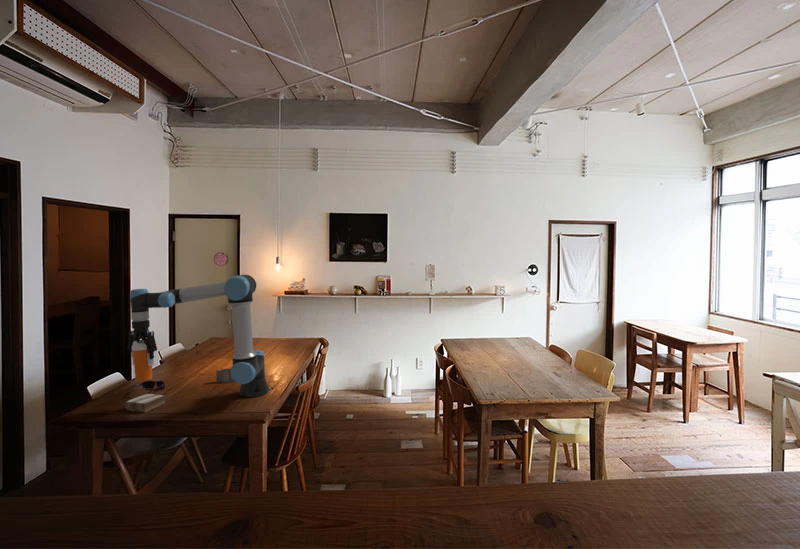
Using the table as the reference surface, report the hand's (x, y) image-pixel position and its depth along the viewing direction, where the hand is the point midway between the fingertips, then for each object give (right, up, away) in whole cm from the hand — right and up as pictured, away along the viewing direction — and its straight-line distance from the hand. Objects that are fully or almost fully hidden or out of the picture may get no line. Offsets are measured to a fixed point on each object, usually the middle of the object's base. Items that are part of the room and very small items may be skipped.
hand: (143, 364), depth 208 cm
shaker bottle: (0, -8, 0) cm, 8 cm away
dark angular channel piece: (+26, -19, +40) cm, 51 cm away
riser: (+1, -21, +1) cm, 21 cm away
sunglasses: (-11, -21, +22) cm, 33 cm away
